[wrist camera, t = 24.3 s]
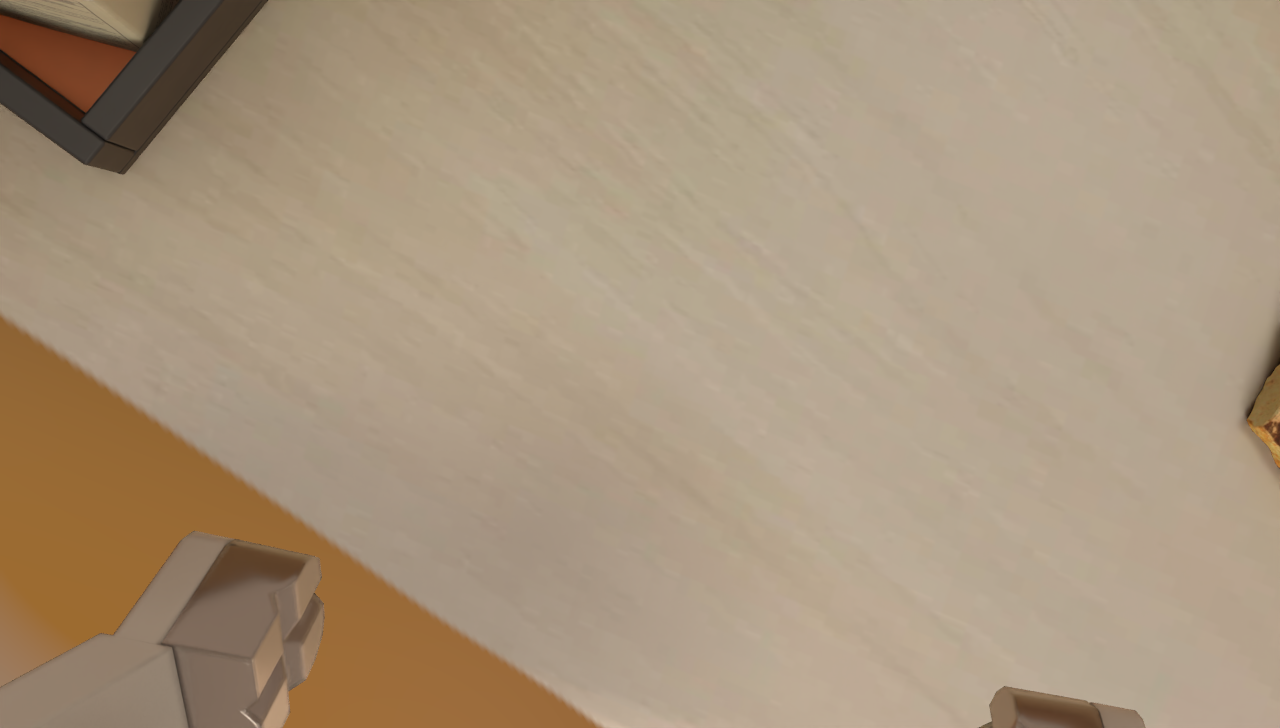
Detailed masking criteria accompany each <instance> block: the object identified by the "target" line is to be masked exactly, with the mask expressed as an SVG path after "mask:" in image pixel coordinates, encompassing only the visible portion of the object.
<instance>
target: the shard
mask: <svg viewBox="0 0 1280 728" xmlns="http://www.w3.org/2000/svg"><path fill="white" fill-rule="evenodd" d="M1247 422H1248V424H1249V426H1250V427H1251V428H1252V431H1253V432H1254V433H1255V434H1257V435H1258V436H1259V437H1260V438H1261V439H1262V441H1263V442H1264V443H1265V444H1266V445H1267V446H1268V447H1269V448H1270V450H1271V453H1272V457H1273V458H1274V461H1275V463H1276V464H1277V466H1278V467H1279V468H1280V364H1279V365H1278V366H1277V367H1276V368H1275V370H1274V371H1273V373H1272V375H1271V376H1270V377H1268V378H1267V379H1266V381H1265V384H1264V387H1263V389H1262V391H1261V392H1260V394H1259V395H1258V397H1257V399H1256V401H1255V404H1254V407H1253V410H1252V412H1251V414H1250V416H1249V417H1248V419H1247Z"/></svg>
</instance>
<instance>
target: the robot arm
mask: <svg viewBox="0 0 1280 728" xmlns="http://www.w3.org/2000/svg"><path fill="white" fill-rule="evenodd" d="M321 578H322V576H321V568H320V560H319V558H317V557H315V556H310V555H307V554H302V553H297V552H293V551H288V550H283V549H278V548H274V547H270V546H265V545H261V544H256V543H251V542H247V541H242V540H237V539H231V538H226V537H222V536H217V535H212V534H207V533H202V532H197V531H193V532H191V533H190V534H189V535H187V536H186V537H184V538H183V539H182V540H181V541H180V542H179V543H178V545H177V546H176V548H175V549H174V551H173V552H172V553H171V555H170V556H169V558H168V559H167V560H166V562H165V563H164V564H163V566H162V567H161V569H160V570H159V571H158V573H157V574H156V576H155V577H154V578H153V580H152V581H151V583H150V584H149V585H148V587H147V588H146V590H145V591H144V592H143V594H142V595H141V597H140V598H139V599H138V601H137V602H136V604H135V605H134V607H133V608H132V609H131V611H130V612H129V613H128V615H127V616H126V618H125V619H124V620H123V622H122V623H121V625H120V626H119V628H118V629H117V631H116V632H115V633H114V635H108V634H102V633H100V634H98V635H96V636H94V637H93V638H91V639H89V640H87V641H85V642H83V643H81V644H80V645H78V646H76V647H74V648H72V649H70V650H68V651H67V652H65V653H63V654H61V655H59V656H57V657H55V658H53V659H52V660H50V661H48V662H46V663H44V664H42V665H41V666H39V667H37V668H35V669H33V670H31V671H29V672H27V673H26V674H24V675H22V676H20V677H18V678H16V679H14V680H12V681H11V682H9V683H7V684H5V685H3V686H1V687H0V728H282V727H283V725H284V723H285V721H286V719H287V717H288V715H289V713H290V706H289V696H288V691H290V690H291V689H293V688H294V687H296V686H297V685H299V684H300V683H302V682H303V681H305V680H306V678H307V676H308V674H309V672H310V670H311V668H312V665H313V663H314V661H315V658H316V655H317V652H318V649H319V645H320V641H321V638H322V634H323V626H324V603H323V602H322V601H321V600H320V599H319V597H318V596H317V595H316V594H315V593H314V592H315V590H316V588H317V586H318V584H319V582H320V580H321ZM989 707H990V713H991V718H992V721H991V722H989V723H987V724H985V725H983V726H981V727H979V728H1146V727H1145V724H1144V721H1143V719H1142V718H1141V717H1140V715H1139V714H1138V713H1137V712H1136V711H1135V710H1129V709H1124V708H1119V707H1114V706H1108V705H1103V704H1098V703H1092V702H1091V703H1089V702H1087V701H1085V700H1080V699H1074V698H1068V697H1063V696H1057V695H1052V694H1046V693H1040V692H1035V691H1029V690H1023V689H1018V688H1012V687H1006V686H1004V687H1003V688H1001V689H1000V690H998V691H997V692H996V694H995V696H994V697H993V699H992V701H991V703H990V705H989Z"/></svg>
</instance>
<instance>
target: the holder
mask: <svg viewBox="0 0 1280 728" xmlns="http://www.w3.org/2000/svg"><path fill="white" fill-rule="evenodd" d="M267 1H268V0H180V1H179V2H178V3H177V4H176V5H175V7H174V8H173V9H172V10H171V11H170V13H169V14H168V15H167V16H166V17H165V19H164V20H163V21H162V22H161V23H160V25H159V26H158V27H157V28H156V29H155V31H154V32H153V33H152V34H151V35H150V37H149V38H148V39H147V40H146V41H145V43H144V44H143V45H142V46H141V47H140V49H139V50H138V51H137V52H134V51H131V50H127V49H123V48H119V47H116V46H112V45H108V44H105V43H101V42H97V41H93V40H90V39H86V38H82V37H78V36H74V35H71V34H67V33H63V32H60V31H56V30H53V29H49V28H46V27H42V26H38V25H35V24H31V23H28V22H25V21H21V20H18V19H14V18H11V17H8V16H4V15H1V14H0V103H1V104H2V105H3V106H5V107H6V108H7V109H9V110H10V111H12V112H13V113H14V114H16V115H17V116H18V117H20V118H21V119H23V120H24V121H25V122H27V123H28V124H29V125H31V126H32V127H34V128H35V129H36V130H38V131H39V132H40V133H42V134H43V135H45V136H46V137H47V138H49V139H50V140H51V141H53V142H54V143H56V144H57V145H58V146H60V147H61V148H62V149H64V150H65V151H67V152H68V153H69V154H71V155H72V156H73V157H75V158H76V159H78V160H79V161H80V162H82V163H83V164H85V165H89V166H93V167H97V168H101V169H105V170H109V171H113V172H117V173H119V174H125V173H126V172H127V170H128V169H129V168H130V167H131V165H132V164H133V163H134V162H135V161H136V159H137V158H138V157H139V156H140V155H141V153H142V152H143V151H144V150H145V148H146V147H147V146H148V145H149V144H150V142H151V141H152V140H153V139H154V138H155V136H156V135H157V134H158V133H159V132H160V130H161V129H162V128H163V127H164V125H165V124H166V123H167V122H168V121H169V119H170V118H171V117H172V116H173V115H174V113H175V112H176V111H177V110H178V108H179V107H180V106H181V105H182V104H183V102H184V101H185V100H186V99H187V98H188V96H189V95H190V94H191V93H192V92H193V90H194V89H195V88H196V87H197V85H198V84H199V83H200V82H201V81H202V79H203V78H204V77H205V76H206V75H207V73H208V72H209V71H210V70H211V68H212V67H213V66H214V65H215V64H216V62H217V61H218V60H219V59H220V58H221V56H222V55H223V54H224V53H225V52H226V50H227V49H228V48H229V47H230V45H231V44H232V43H233V42H234V41H235V39H236V38H237V37H238V36H239V35H240V33H241V32H242V31H243V30H244V28H245V27H246V26H247V25H248V24H249V22H250V21H251V20H252V19H253V18H254V16H255V15H256V14H257V13H258V12H259V10H260V9H261V8H262V7H263V5H264V4H265V3H266V2H267Z"/></svg>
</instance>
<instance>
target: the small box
mask: <svg viewBox="0 0 1280 728" xmlns="http://www.w3.org/2000/svg"><path fill="white" fill-rule="evenodd" d="M179 1H180V0H0V14H1V15H4V16H8V17H11V18H14V19H18V20H21V21H25V22H28V23H31V24H35V25H38V26H42V27H46V28H49V29H53V30H56V31H60V32H63V33H67V34H71V35H74V36H78V37H82V38H86V39H90V40H93V41H97V42H101V43H105V44H108V45H112V46H116V47H119V48H123V49H127V50H131V51H134V52H137V51H138V50H139V49H140V47H141V46H142V45H143V44H144V43H145V41H146V40H147V39H148V38H149V37H150V35H151V34H152V33H153V32H154V31H155V29H156V28H157V27H158V26H159V25H160V23H161V22H162V21H163V20H164V19H165V17H166V16H167V15H168V14H169V13H170V11H171V10H172V9H173V8H174V7H175V5H176V4H177V3H178V2H179Z"/></svg>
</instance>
